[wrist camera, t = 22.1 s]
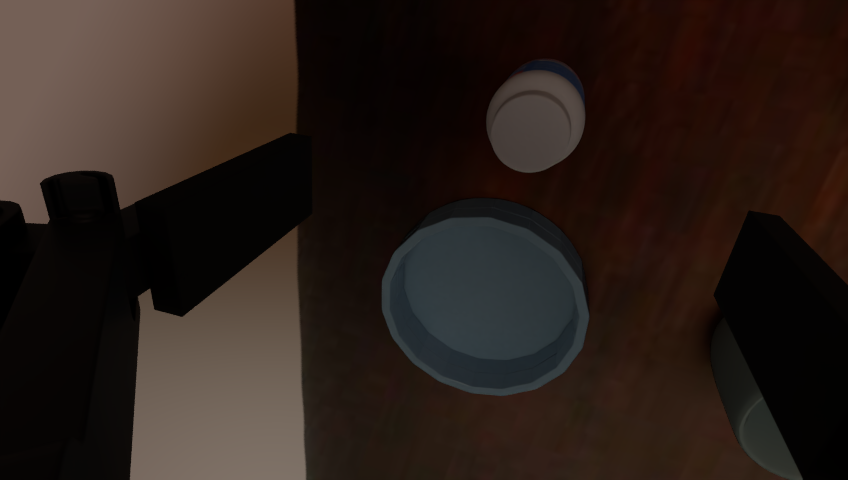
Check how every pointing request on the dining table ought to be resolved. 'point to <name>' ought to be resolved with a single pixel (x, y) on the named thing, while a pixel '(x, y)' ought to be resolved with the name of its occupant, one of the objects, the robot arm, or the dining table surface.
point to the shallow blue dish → (487, 297)
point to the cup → (748, 406)
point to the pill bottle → (537, 116)
